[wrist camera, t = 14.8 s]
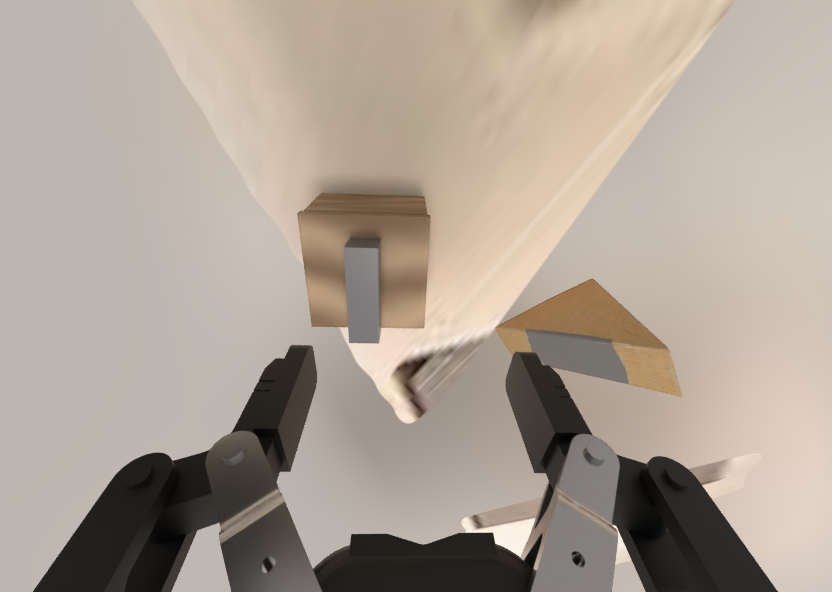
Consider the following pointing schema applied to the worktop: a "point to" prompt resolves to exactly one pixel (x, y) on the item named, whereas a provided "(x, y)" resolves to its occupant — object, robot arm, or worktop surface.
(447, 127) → the worktop surface
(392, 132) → the worktop surface
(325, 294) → the lid
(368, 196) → the carton
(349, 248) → the gray rectangular block
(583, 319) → the sandwich container
